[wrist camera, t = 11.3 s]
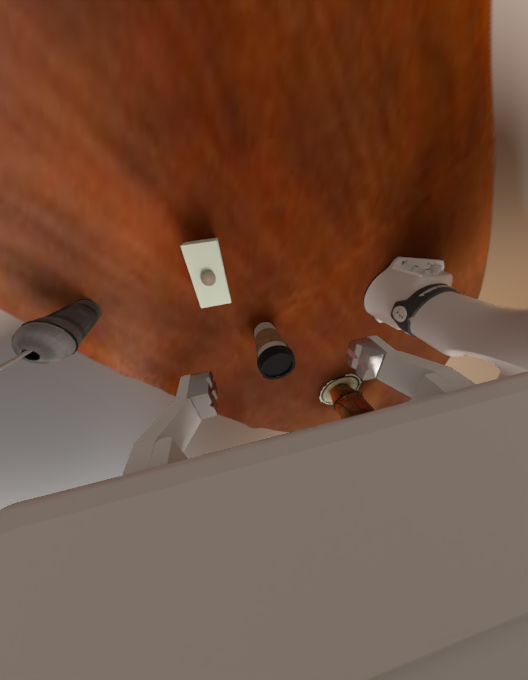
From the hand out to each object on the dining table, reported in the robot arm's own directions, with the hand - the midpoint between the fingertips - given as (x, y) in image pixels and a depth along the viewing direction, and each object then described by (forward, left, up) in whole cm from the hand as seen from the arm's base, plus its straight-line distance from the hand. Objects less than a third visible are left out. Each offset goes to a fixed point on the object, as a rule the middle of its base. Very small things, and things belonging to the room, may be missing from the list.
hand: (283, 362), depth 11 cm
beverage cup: (+33, +7, -35) cm, 49 cm away
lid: (+6, +2, -30) cm, 31 cm away
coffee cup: (-4, +21, -35) cm, 41 cm away
